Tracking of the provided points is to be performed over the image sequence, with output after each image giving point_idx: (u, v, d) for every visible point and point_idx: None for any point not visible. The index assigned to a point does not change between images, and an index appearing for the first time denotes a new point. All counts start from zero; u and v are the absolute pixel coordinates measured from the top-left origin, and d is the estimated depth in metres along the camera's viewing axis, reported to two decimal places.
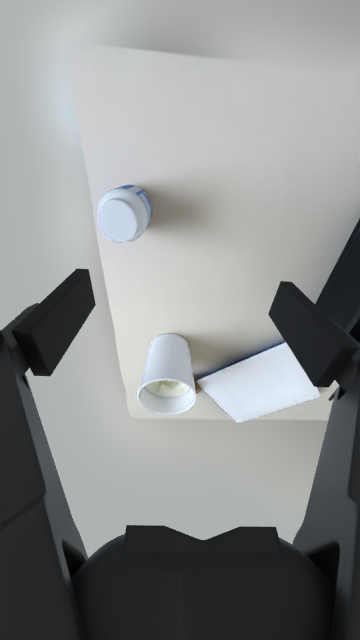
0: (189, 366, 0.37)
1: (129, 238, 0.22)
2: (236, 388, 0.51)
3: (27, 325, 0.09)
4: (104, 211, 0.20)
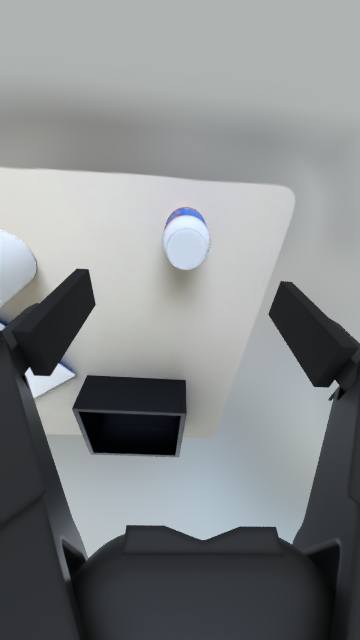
0: (2, 305, 0.27)
1: (171, 260, 0.21)
2: None
3: (27, 325, 0.09)
4: (197, 240, 0.20)
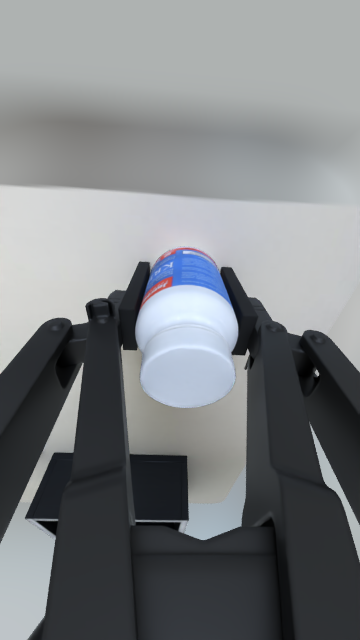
0: None
1: (151, 395, 0.09)
2: None
3: (128, 305, 0.10)
4: (214, 364, 0.08)
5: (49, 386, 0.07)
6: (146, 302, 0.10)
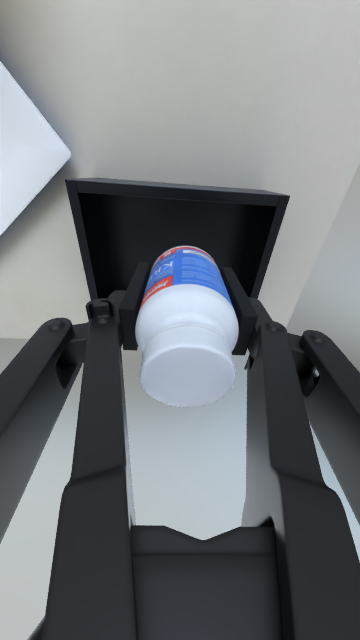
0: None
1: (152, 395, 0.09)
2: None
3: (128, 305, 0.10)
4: (214, 364, 0.08)
5: (49, 386, 0.07)
6: (146, 301, 0.10)
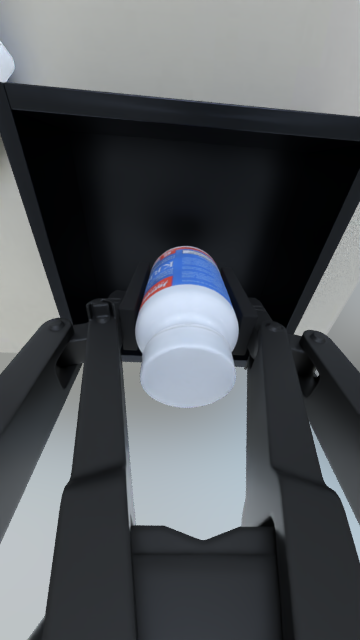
0: None
1: (152, 395, 0.09)
2: None
3: (128, 305, 0.10)
4: (214, 364, 0.08)
5: (49, 386, 0.07)
6: (146, 302, 0.10)
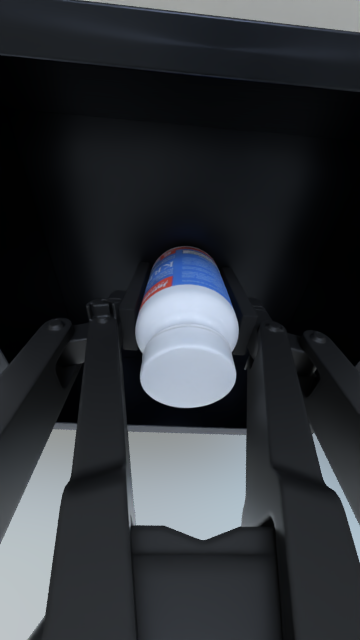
0: None
1: (152, 395, 0.09)
2: None
3: (129, 305, 0.10)
4: (214, 364, 0.08)
5: (49, 386, 0.07)
6: (146, 302, 0.10)
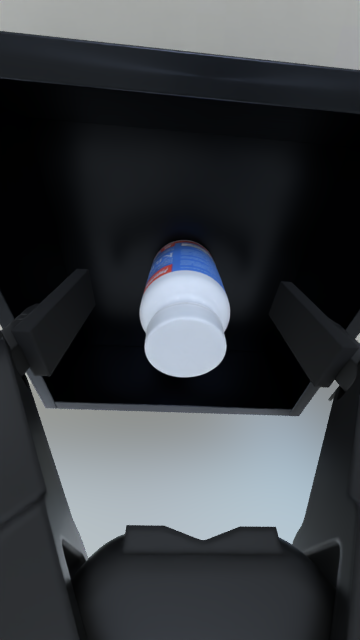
0: None
1: (154, 365, 0.11)
2: None
3: (27, 325, 0.08)
4: (207, 334, 0.09)
5: None
6: (149, 286, 0.12)
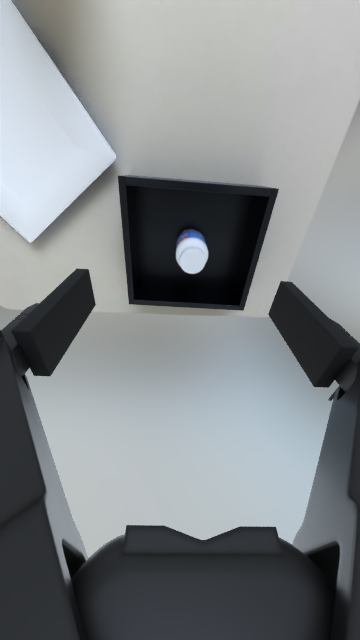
0: None
1: (182, 267, 0.32)
2: None
3: (27, 325, 0.09)
4: (199, 254, 0.31)
5: None
6: (179, 243, 0.33)
